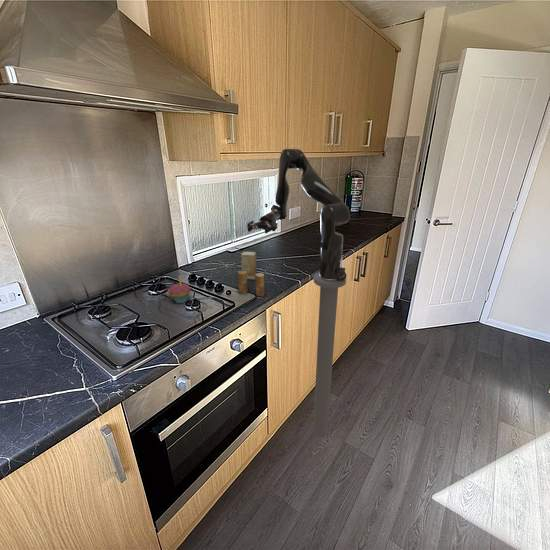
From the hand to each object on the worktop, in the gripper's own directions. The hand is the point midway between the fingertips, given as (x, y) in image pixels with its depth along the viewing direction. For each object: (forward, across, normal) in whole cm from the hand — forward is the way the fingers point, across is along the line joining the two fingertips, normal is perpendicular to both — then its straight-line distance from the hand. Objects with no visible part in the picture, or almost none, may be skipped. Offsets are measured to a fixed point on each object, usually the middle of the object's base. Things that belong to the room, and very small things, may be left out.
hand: (257, 230), depth 138 cm
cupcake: (+40, -18, +18) cm, 48 cm away
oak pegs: (+25, +7, +18) cm, 32 cm away
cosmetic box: (+11, 0, +20) cm, 23 cm away
